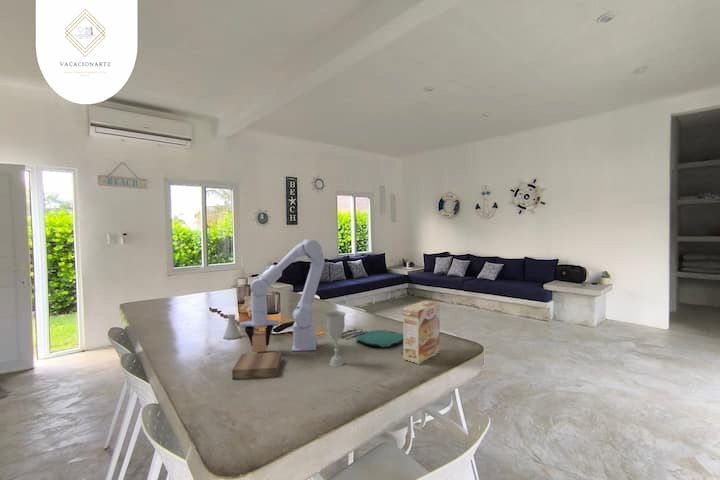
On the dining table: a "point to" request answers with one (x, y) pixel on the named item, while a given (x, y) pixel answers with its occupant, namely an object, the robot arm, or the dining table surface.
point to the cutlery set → (377, 337)
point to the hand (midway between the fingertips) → (260, 345)
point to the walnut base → (257, 365)
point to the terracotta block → (259, 342)
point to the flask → (232, 328)
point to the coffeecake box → (421, 331)
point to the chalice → (335, 333)
